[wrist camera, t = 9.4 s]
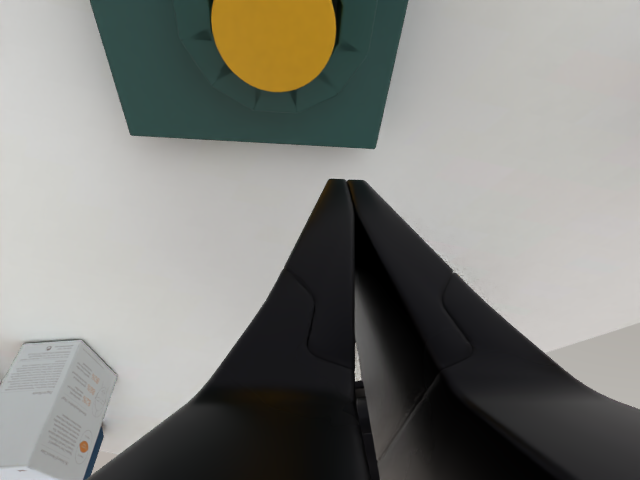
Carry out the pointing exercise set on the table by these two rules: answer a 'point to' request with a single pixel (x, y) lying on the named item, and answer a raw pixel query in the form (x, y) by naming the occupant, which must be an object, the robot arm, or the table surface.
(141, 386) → the table surface
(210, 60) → the teal square base
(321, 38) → the cylinder
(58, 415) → the small box
